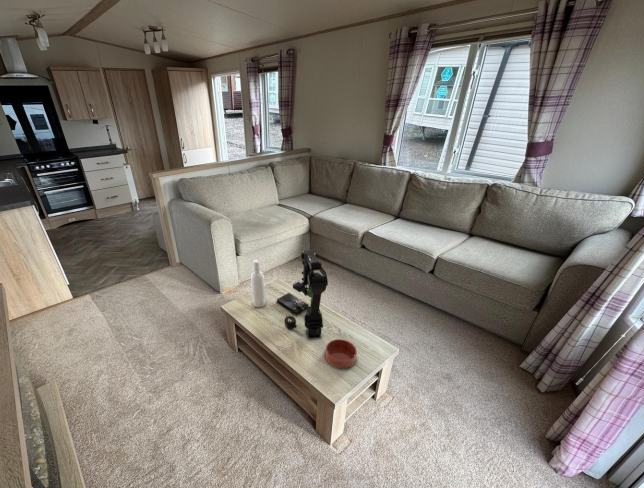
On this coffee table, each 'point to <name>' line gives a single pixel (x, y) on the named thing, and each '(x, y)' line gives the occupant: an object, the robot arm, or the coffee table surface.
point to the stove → (291, 304)
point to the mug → (290, 322)
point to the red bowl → (341, 353)
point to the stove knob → (298, 303)
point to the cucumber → (308, 293)
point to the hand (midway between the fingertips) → (307, 294)
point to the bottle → (258, 285)
